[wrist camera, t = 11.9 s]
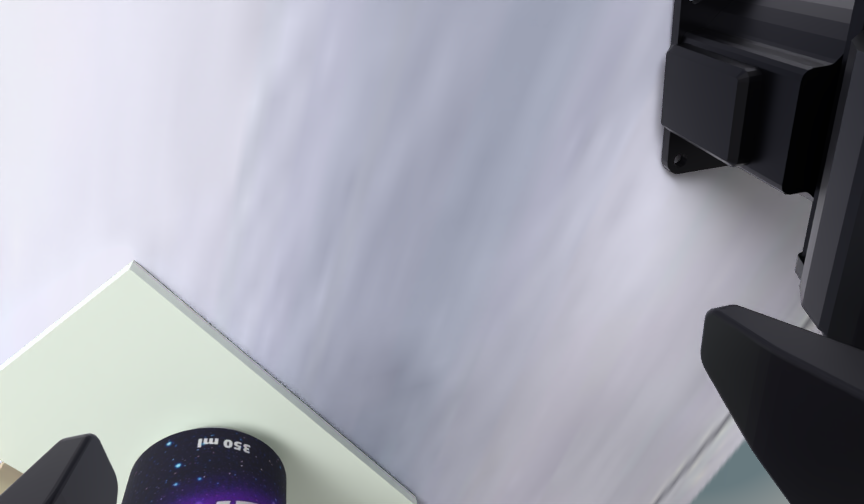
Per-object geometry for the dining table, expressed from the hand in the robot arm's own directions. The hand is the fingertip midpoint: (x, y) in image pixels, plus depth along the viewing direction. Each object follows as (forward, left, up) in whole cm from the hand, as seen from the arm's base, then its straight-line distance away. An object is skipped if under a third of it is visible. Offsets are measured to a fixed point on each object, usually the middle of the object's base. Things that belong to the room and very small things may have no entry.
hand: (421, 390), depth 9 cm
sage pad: (+8, +12, -13) cm, 20 cm away
